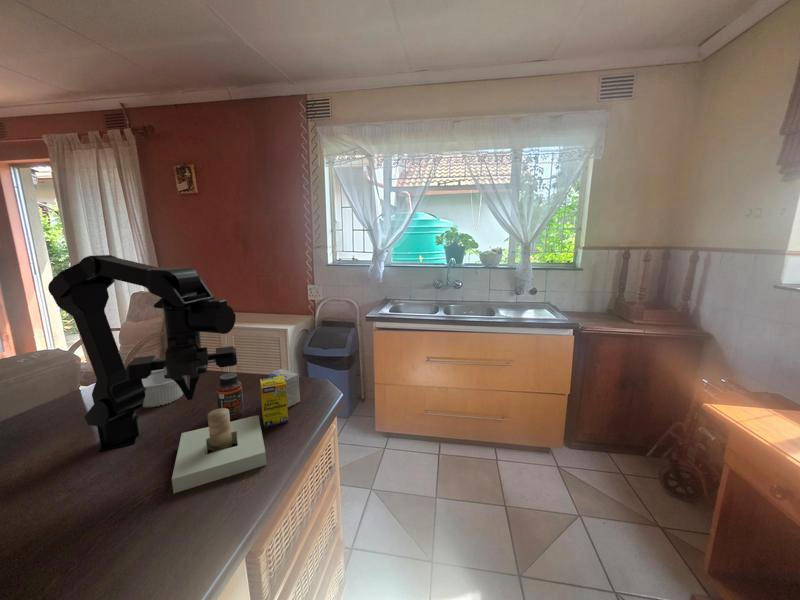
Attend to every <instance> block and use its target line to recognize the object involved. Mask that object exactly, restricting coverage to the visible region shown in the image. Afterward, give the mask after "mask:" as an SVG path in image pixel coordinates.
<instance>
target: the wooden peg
mask: <svg viewBox="0 0 800 600" xmlns="http://www.w3.org/2000/svg"><path fill="white" fill-rule="evenodd" d="M206 416H207V424H208V427H209V434H210V446H211V450H210V451H211V453H213V452H216V451H220V450H224V449H228V448H231V447H233V444H232V436H231V426H230V422H231V420H230V416H229V410H228V409H226V408H220V409H218V408H215V409H213V410H211V411H209V412H208V413H207V415H206Z"/></svg>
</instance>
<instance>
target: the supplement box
mask: <svg viewBox="0 0 800 600" xmlns="http://www.w3.org/2000/svg"><path fill="white" fill-rule="evenodd" d="M259 386H260V387H259V389H260V400H261V401H260V402H261V405H260V406H261V417H262V423H263V424H262V425H263V428H264V429H266V428H270V427H273V426H277V425H278V426H279V425H282V424H288V423H289V413H288V411H289V410H288V407H287V390H286V382H285V379H284V376H279V377H272V378H269V377H268V378H260V379H259Z"/></svg>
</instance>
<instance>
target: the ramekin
mask: <svg viewBox="0 0 800 600" xmlns="http://www.w3.org/2000/svg"><path fill="white" fill-rule="evenodd" d="M164 375H165V371H164V369H161V370H153V371H152V373H151V375H150V376H148V377H147V378H145V379H142V383H143V385H144V387H145V388H146V390H145V398H144V402H143V407H142V408H155V407H156V406H157V407H161V406H160V405H162V406H165V404H166V405H169V404H171V403H173V401H174V402H176V401H177V399H178V400H179V399H181V398H182V396H183V395H184V393H183V392H182V390H181V388H180V387H179V386H178V384H177V383H176V382H175V381H174V380H172V379H165V378H164ZM175 400H176V401H175ZM168 403H169V404H168Z"/></svg>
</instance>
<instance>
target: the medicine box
mask: <svg viewBox="0 0 800 600" xmlns="http://www.w3.org/2000/svg"><path fill="white" fill-rule="evenodd" d="M279 376H284V379H285V382H286V390H287V408H290V406H291V407H292V405H293V406H295V405H296V404H298V403H300V402H301V396H300V394H301V393H300V392H301V391H300V381H299V374H297V373H295V372H292V371H289V370H287V369H284V368H279V369H277V370H274V371H272V372H270V373H269V374H268V378H272V377H279Z"/></svg>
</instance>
